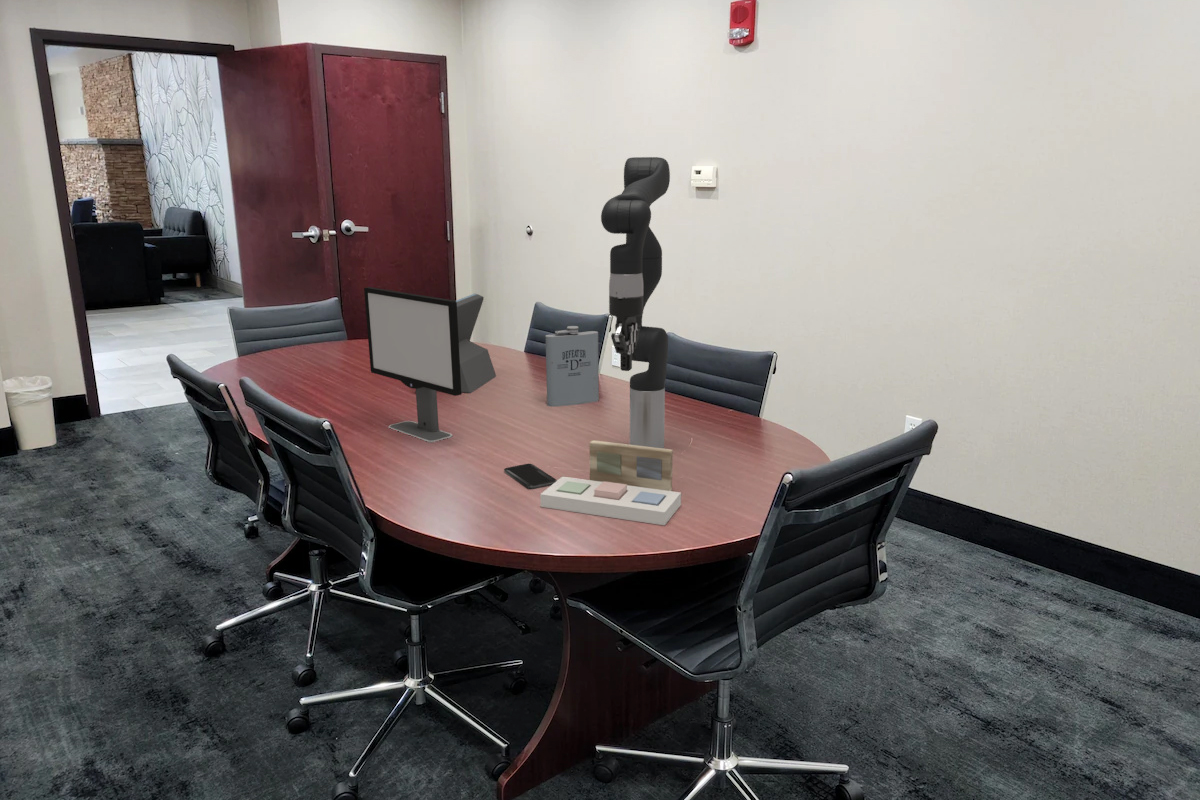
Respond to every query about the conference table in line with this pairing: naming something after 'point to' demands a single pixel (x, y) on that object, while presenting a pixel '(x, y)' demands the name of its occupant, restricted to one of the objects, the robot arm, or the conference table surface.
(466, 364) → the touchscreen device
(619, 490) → the key rose
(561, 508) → the keypad
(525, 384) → the conference table surface
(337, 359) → the conference table surface
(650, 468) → the card
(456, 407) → the conference table surface
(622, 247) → the robot arm
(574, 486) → the key sage
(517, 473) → the phone
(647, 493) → the key slate
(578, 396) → the flask
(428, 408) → the computer monitor
